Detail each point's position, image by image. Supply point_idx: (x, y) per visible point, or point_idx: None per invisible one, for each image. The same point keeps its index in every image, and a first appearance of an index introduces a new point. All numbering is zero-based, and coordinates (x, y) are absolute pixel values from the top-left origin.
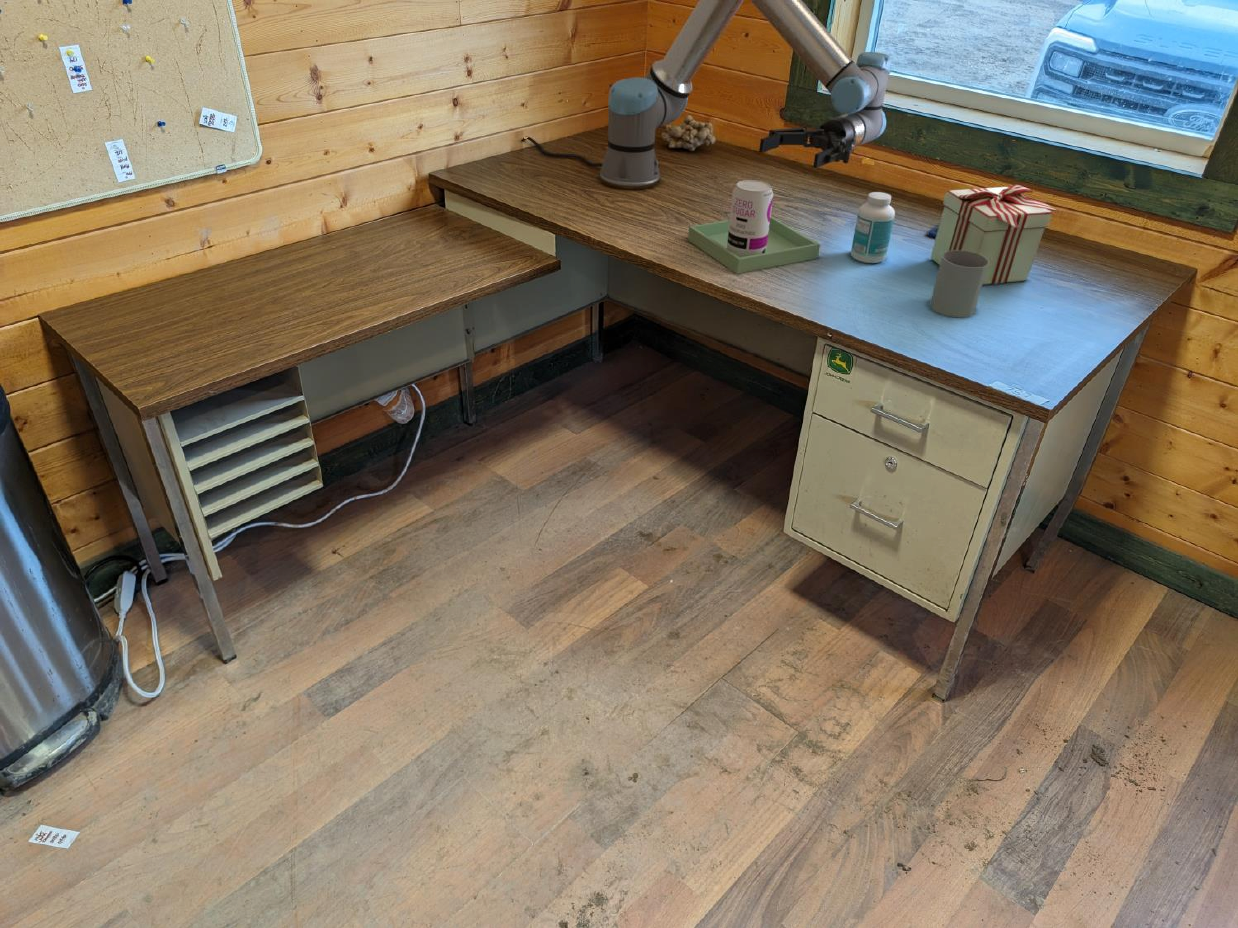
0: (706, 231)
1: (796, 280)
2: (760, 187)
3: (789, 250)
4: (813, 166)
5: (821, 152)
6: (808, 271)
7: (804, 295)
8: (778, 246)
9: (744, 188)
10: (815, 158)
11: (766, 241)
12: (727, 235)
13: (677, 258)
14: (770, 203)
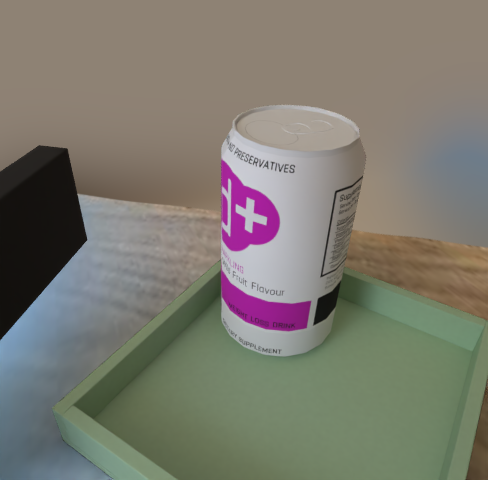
0: (469, 375)
1: (113, 287)
2: (271, 128)
3: (152, 320)
4: (84, 235)
5: (5, 181)
6: (87, 339)
7: (85, 244)
8: (219, 434)
9: (309, 114)
10: (66, 178)
11: (221, 281)
12: (420, 426)
13: (402, 265)
14: (221, 165)
